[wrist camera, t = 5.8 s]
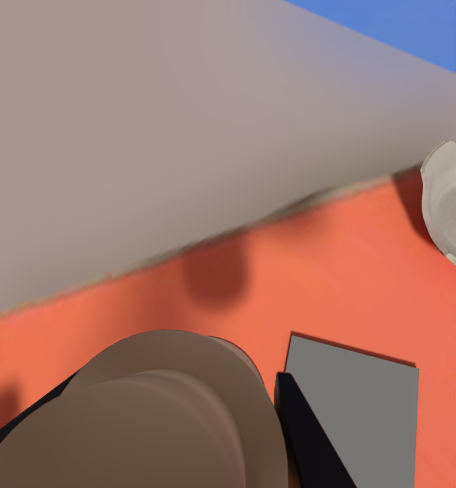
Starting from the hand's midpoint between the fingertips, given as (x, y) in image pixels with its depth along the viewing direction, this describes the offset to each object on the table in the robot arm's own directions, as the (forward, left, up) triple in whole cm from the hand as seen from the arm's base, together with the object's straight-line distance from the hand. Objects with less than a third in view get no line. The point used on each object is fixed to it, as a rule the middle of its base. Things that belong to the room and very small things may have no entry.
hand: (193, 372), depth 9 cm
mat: (-2, -9, -13) cm, 16 cm away
